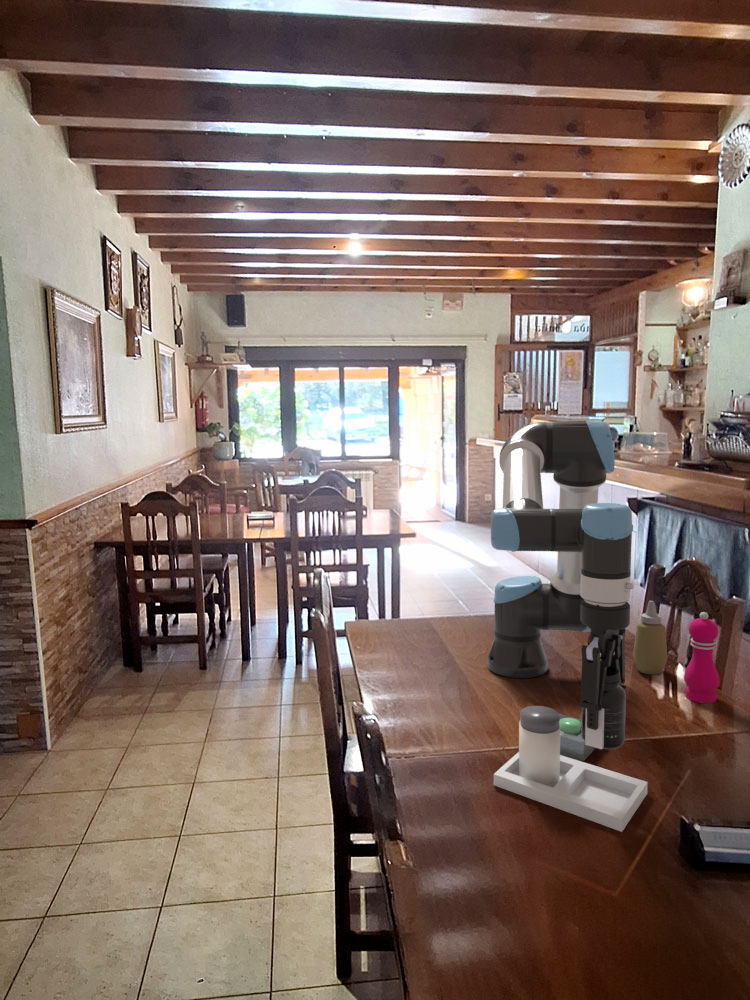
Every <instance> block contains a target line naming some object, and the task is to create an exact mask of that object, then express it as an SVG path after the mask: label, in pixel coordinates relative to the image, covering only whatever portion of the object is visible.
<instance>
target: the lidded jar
mask: <svg viewBox="0 0 750 1000" xmlns="http://www.w3.org/2000/svg"><path fill="white" fill-rule="evenodd" d="M559 714H560V713H559V712H558V711H557V710H556V709H553V708H551V707H547V706H543V705H530V706H525V707H523V708H522V709H521V710H520V717H519V722H518V752H519V776H520V777H523V778H526V779H529V780H532V781H535V782H538V783H540V784H543V785H546V786H549V787H552V788H553V787H554V786H555V785H556V784H557V783H558V782H559V781H560V755H561V754H560V724H559Z"/></svg>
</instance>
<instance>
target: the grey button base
mask: <svg viewBox="0 0 750 1000" xmlns="http://www.w3.org/2000/svg"><path fill="white" fill-rule="evenodd" d="M562 718H573V719H577V720H578V721H580V722H581V718H577V717H573V716H569V715H566V714H563V713H559V721H560V719H562ZM595 750H596V748H595V747H592V746H588V745H585V741H584V740H583V738H582V735H581V733H580V734H579V735H578V736H576V735H573V734H569V733H566V732H562V731H560V755H562V756H565V757H568V758H572V759H575V760H578V761H581V762H585V760H586V759H587V758H588V757H589V756H590V755H591V754H592V752H594V751H595Z"/></svg>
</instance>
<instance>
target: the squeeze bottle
mask: <svg viewBox="0 0 750 1000" xmlns="http://www.w3.org/2000/svg"><path fill="white" fill-rule="evenodd" d="M666 632H667V631H666V626H665V625H664V624H663V623H662V616H661V615H660V614H658V613H657V608H656V604H655V601H654V600H649V601H648V604H647V608H646V612H645V613H644V612H643V613H641V615H640V621H639V622H638V623H637V624H636V630H635V636H634V644H633V651H632V658H633V660H634V663H635V666H636V669H637V671H638V672H640V673H643V674H646V675H661V674H662V673H663V671H664V669H665V666H666V663H667V662H668V659H669V657H668V648H667V647H668V646H667V635H666Z"/></svg>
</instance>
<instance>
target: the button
mask: <svg viewBox="0 0 750 1000" xmlns="http://www.w3.org/2000/svg"><path fill="white" fill-rule="evenodd" d="M573 718H574V717H573ZM573 718H562V719H560V721H559V724H560V731H562V732H566V733H569V734H573V735H576V736H578V735H579V734H580V733H581V722H580V721H578V720H577V719H578V718H577V719H573Z"/></svg>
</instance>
